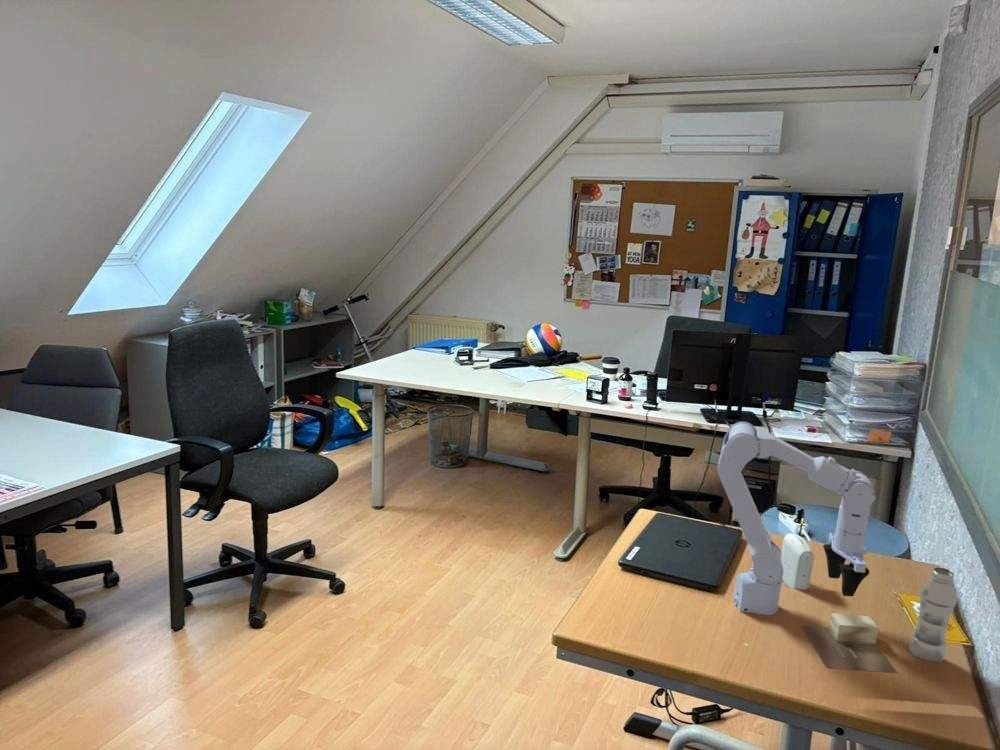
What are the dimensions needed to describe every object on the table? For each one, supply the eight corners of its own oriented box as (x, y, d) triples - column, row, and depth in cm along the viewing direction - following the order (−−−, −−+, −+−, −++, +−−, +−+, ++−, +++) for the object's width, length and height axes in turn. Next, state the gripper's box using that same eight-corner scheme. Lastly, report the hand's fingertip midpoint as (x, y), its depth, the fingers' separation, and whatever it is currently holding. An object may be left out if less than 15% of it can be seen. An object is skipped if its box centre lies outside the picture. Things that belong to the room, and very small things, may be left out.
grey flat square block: (825, 674, 148) (826, 667, 148) (799, 631, 163) (800, 625, 162) (896, 679, 148) (898, 673, 148) (864, 636, 162) (865, 630, 162)
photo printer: (810, 595, 178) (818, 548, 175) (792, 595, 178) (800, 547, 175) (791, 574, 188) (799, 529, 185) (775, 573, 188) (782, 528, 185)
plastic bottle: (900, 653, 157) (917, 566, 152) (922, 646, 160) (940, 561, 155) (927, 671, 151) (947, 581, 146) (950, 664, 154) (969, 576, 149)
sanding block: (836, 641, 157) (839, 624, 156) (828, 629, 161) (831, 613, 160) (875, 645, 157) (878, 628, 156) (866, 632, 161) (869, 616, 160)
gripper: (885, 545, 153) (873, 605, 156) (855, 516, 167) (845, 571, 170) (850, 543, 153) (839, 602, 156) (823, 513, 167) (814, 569, 170)
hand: (840, 586), depth 163 cm, fingers open, 7 cm apart
